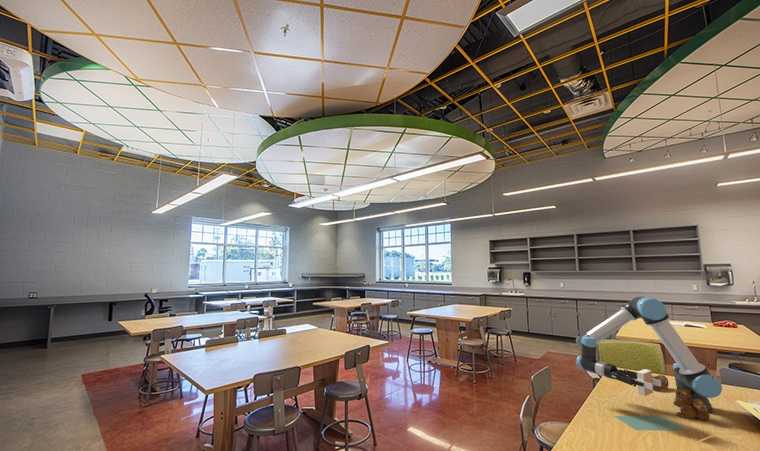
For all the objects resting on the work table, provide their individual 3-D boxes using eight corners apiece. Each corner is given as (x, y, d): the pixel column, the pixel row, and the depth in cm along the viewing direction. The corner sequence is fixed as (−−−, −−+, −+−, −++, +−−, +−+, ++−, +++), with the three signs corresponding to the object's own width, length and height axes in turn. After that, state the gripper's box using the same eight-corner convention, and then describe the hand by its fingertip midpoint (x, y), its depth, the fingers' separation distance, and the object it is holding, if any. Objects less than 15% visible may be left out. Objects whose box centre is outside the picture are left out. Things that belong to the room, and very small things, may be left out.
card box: (646, 390, 165) (644, 369, 166) (653, 393, 163) (651, 370, 163) (638, 394, 162) (637, 371, 162) (645, 396, 159) (644, 373, 160)
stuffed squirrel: (682, 410, 173) (677, 384, 175) (717, 420, 160) (712, 392, 163) (672, 414, 169) (667, 387, 171) (707, 424, 156) (702, 396, 159)
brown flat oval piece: (653, 391, 203) (651, 377, 205) (647, 389, 206) (645, 375, 208) (670, 388, 207) (667, 374, 209) (664, 387, 210) (662, 373, 212)
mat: (660, 416, 166) (660, 415, 166) (688, 431, 150) (688, 430, 150) (613, 416, 167) (613, 415, 167) (636, 431, 151) (636, 430, 151)
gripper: (617, 373, 183) (666, 388, 163) (596, 380, 173) (646, 397, 153) (616, 360, 183) (665, 373, 163) (595, 366, 174) (645, 381, 154)
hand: (656, 385), depth 158 cm, fingers closed on card box, 8 cm apart
